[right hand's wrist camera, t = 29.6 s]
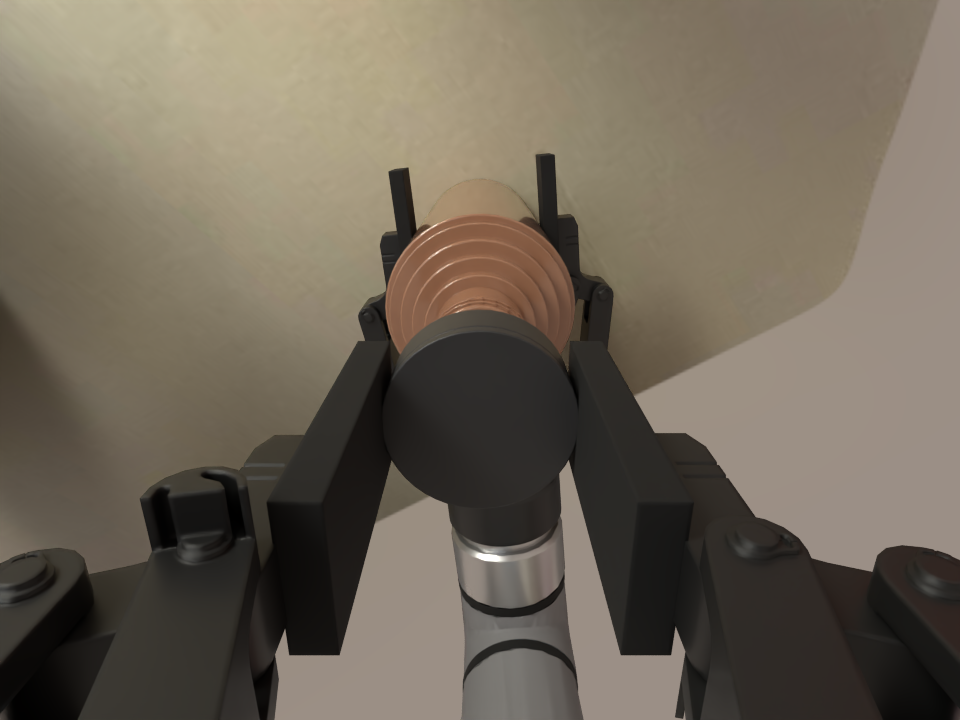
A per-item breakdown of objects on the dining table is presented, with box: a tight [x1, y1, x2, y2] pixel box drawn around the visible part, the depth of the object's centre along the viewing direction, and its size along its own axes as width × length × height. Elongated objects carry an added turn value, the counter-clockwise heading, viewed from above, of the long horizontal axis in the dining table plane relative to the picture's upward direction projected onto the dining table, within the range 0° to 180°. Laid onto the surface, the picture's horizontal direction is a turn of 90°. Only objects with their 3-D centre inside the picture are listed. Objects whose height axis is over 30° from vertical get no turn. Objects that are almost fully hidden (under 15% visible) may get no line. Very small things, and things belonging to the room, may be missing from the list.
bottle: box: [385, 179, 575, 354], centre depth 29 cm, size 7×7×24 cm
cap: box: [382, 310, 578, 509], centre depth 14 cm, size 4×4×2 cm
